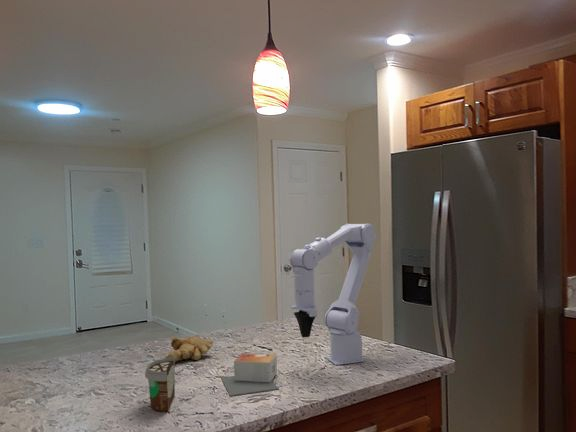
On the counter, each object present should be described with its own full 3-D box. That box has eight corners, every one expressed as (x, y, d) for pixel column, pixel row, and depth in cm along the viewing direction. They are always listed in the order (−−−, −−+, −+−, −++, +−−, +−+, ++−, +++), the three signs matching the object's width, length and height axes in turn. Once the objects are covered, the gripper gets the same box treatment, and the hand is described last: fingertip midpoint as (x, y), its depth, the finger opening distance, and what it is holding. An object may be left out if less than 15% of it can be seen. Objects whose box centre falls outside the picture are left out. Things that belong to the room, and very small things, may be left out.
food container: (151, 396, 122) (150, 358, 122) (175, 395, 122) (174, 356, 122) (140, 416, 109) (139, 374, 109) (167, 415, 110) (166, 372, 110)
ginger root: (208, 343, 166) (208, 323, 164) (216, 367, 151) (216, 345, 149) (163, 350, 161) (161, 329, 159) (166, 376, 146) (165, 352, 144)
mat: (265, 372, 137) (265, 371, 137) (278, 389, 124) (278, 388, 124) (221, 378, 133) (221, 377, 133) (230, 396, 120) (230, 395, 120)
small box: (270, 362, 128) (233, 361, 130) (270, 383, 128) (234, 381, 130) (276, 353, 136) (242, 352, 138) (277, 373, 136) (242, 371, 138)
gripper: (284, 287, 143) (285, 332, 143) (299, 294, 129) (300, 344, 129) (306, 286, 145) (307, 330, 145) (323, 293, 131) (324, 341, 131)
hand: (305, 336), depth 137 cm, fingers closed
